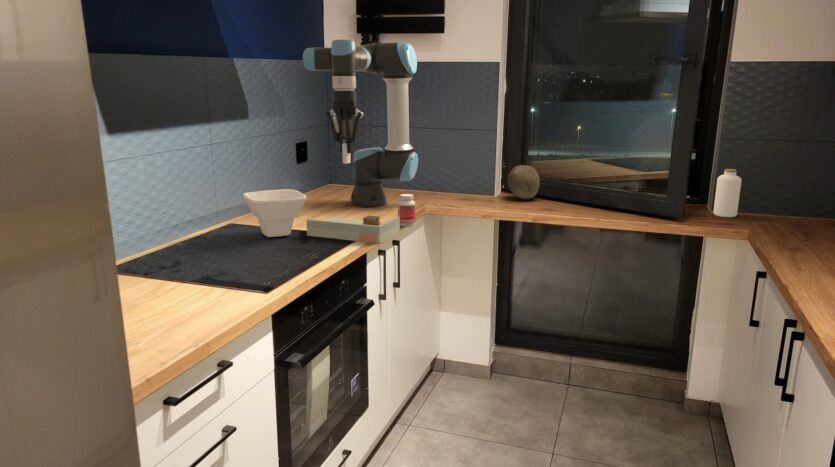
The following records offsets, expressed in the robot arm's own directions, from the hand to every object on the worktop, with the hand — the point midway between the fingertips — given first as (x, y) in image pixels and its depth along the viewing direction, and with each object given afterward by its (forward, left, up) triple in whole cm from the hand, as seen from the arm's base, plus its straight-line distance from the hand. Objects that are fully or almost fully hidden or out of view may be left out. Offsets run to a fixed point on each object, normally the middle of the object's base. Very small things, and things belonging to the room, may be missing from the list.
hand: (346, 162), depth 207 cm
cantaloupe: (-85, +41, -25) cm, 97 cm away
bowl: (+11, -21, -25) cm, 34 cm away
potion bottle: (-82, +121, -25) cm, 148 cm away
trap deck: (-1, +2, -24) cm, 24 cm away
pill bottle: (-20, +13, -25) cm, 34 cm away
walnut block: (+1, +9, -21) cm, 23 cm away
